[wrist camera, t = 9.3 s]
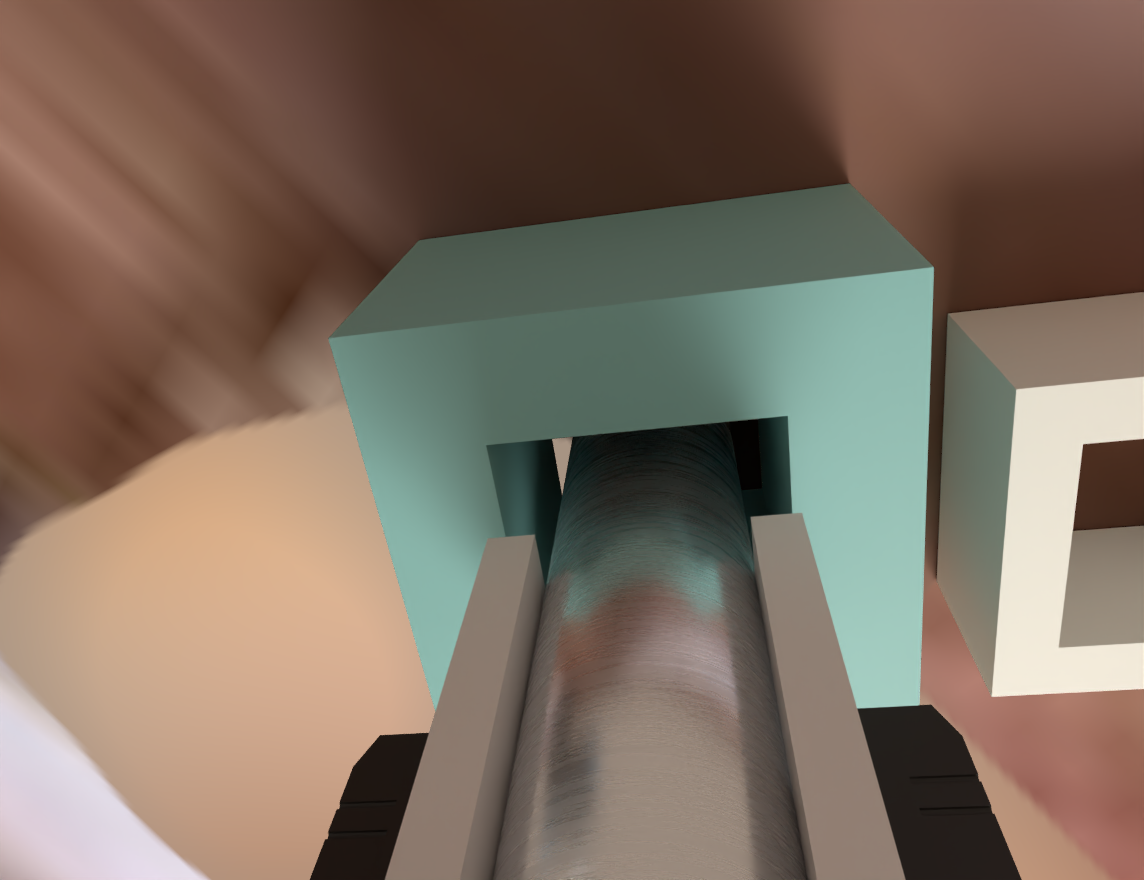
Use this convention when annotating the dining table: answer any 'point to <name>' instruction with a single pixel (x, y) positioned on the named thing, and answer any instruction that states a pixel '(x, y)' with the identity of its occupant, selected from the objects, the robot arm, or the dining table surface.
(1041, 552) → the mount
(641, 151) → the dining table surface
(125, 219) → the dining table surface
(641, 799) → the pin
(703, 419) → the socket
